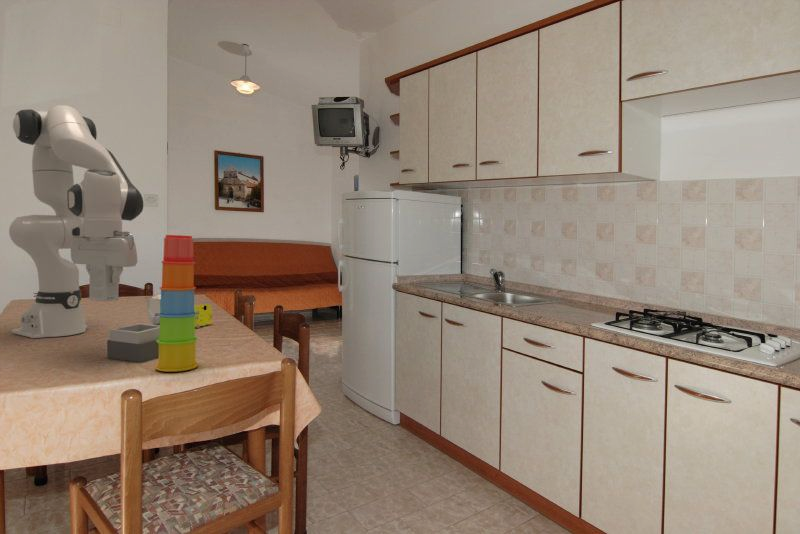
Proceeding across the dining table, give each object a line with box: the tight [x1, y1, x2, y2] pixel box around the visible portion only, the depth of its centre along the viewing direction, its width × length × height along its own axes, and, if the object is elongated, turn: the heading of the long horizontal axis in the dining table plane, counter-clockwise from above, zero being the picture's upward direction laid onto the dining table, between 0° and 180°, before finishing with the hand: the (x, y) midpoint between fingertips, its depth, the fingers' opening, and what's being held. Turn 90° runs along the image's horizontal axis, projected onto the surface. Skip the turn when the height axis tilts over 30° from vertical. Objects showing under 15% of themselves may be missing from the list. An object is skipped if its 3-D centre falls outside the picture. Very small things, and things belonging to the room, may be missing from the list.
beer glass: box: [146, 295, 161, 326], centre depth 154 cm, size 7×7×15 cm
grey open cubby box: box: [106, 322, 160, 363], centre depth 142 cm, size 12×10×9 cm
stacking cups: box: [155, 234, 199, 373], centre depth 130 cm, size 10×10×35 cm
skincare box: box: [88, 256, 120, 302], centre depth 136 cm, size 6×4×12 cm
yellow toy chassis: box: [194, 303, 213, 329], centre depth 181 cm, size 16×6×8 cm, turn 156°
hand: (104, 282), depth 136 cm, fingers closed on skincare box, 6 cm apart
